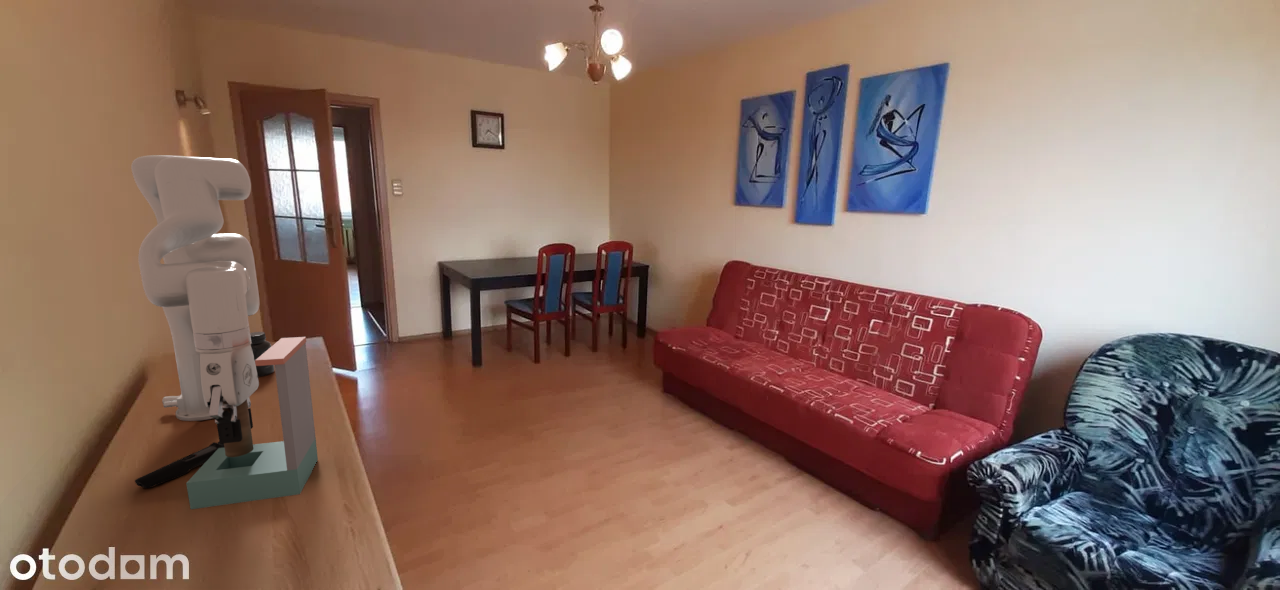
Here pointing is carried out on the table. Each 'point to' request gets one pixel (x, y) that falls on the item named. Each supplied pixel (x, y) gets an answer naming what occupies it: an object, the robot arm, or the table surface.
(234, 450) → the walnut peg
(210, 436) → the table surface
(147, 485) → the electric trimmer
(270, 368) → the supplement bottle
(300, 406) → the socket stand
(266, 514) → the table surface
